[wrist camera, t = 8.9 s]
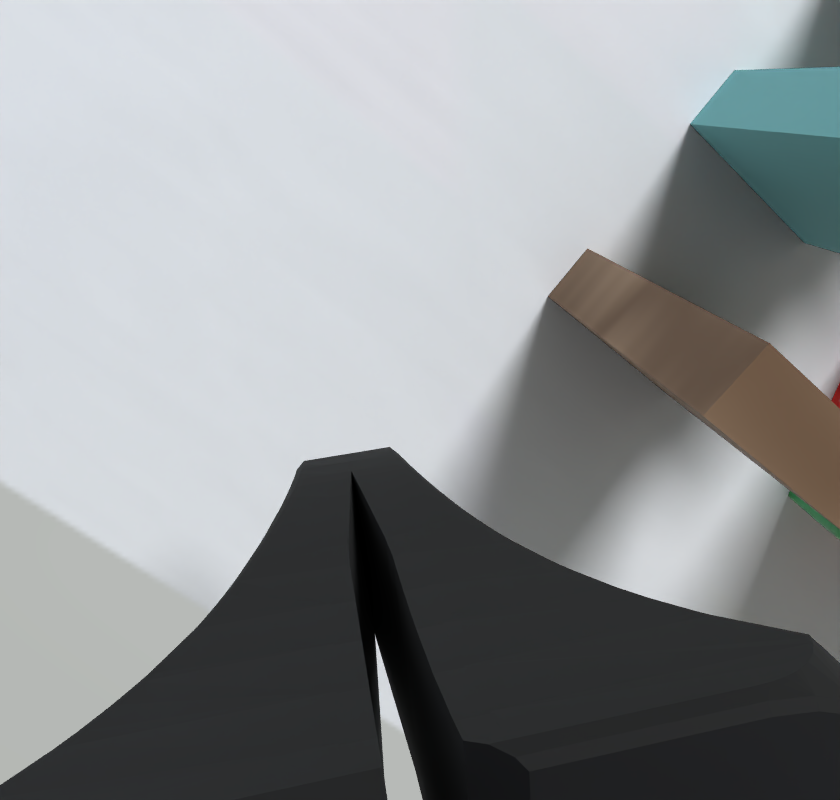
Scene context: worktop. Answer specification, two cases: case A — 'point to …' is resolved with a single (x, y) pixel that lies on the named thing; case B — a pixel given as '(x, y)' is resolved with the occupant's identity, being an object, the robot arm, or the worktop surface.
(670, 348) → the walnut domino
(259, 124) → the worktop surface
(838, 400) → the stack of blocks
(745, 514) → the worktop surface
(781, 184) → the teal domino
